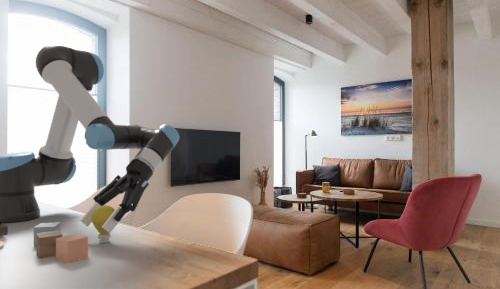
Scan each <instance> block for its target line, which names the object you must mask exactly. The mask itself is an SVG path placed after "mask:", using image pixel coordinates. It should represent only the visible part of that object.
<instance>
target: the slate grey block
mask: <svg viewBox="0 0 500 289" xmlns="http://www.w3.org/2000/svg"><path fill="white" fill-rule="evenodd" d="M58 230H59V231H60V232H61V221H59V222H58V221H57V222H40V223H38V224H37V225H35V226H34V227H33V247H36V233H43V232H50V231H58Z"/></svg>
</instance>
